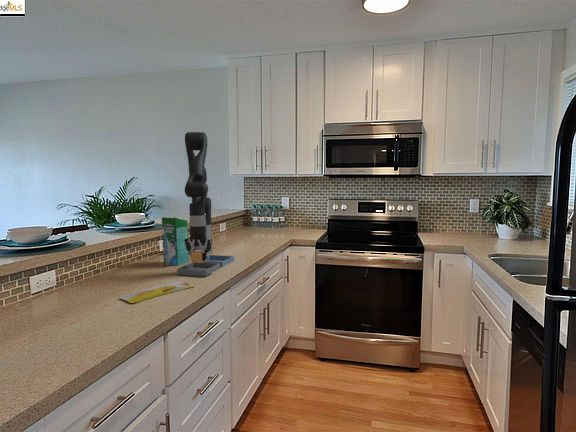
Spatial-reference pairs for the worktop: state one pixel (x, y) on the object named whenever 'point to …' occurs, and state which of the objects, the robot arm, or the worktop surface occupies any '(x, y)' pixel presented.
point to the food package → (155, 292)
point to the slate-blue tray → (219, 259)
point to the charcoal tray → (198, 269)
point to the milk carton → (174, 241)
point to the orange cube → (197, 256)
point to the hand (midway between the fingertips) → (199, 260)
